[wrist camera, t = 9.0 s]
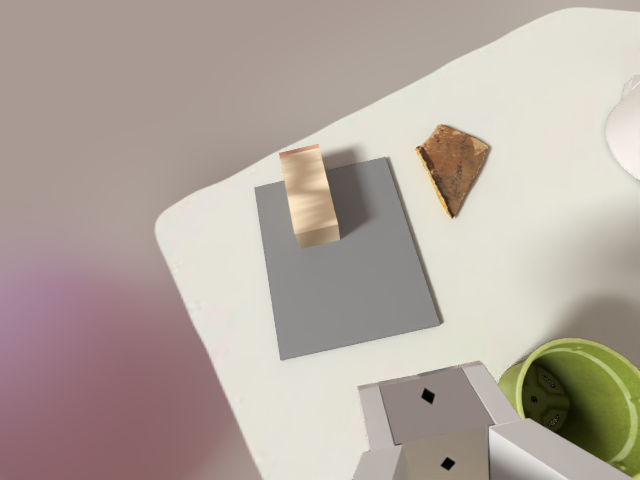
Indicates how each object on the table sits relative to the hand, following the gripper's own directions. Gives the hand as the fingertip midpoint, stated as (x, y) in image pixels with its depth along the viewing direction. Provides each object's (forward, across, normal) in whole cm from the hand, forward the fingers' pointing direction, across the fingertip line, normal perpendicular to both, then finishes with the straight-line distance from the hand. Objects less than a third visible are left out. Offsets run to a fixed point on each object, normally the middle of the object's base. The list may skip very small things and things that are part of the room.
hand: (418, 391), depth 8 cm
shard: (+34, -15, +5) cm, 38 cm away
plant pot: (+16, -13, +23) cm, 31 cm away
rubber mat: (+29, +1, +10) cm, 30 cm away
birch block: (+28, +3, +7) cm, 28 cm away
